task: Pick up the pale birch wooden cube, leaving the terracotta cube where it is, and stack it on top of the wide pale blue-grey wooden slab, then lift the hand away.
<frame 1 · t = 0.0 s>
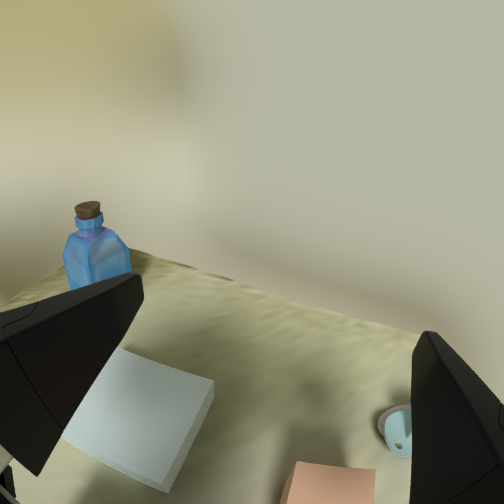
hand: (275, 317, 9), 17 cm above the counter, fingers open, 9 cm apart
perfume bottle: (103, 295, 36), on the counter
blue-grey slab: (138, 423, 21), on the counter
pacifier: (408, 434, 20), on the counter
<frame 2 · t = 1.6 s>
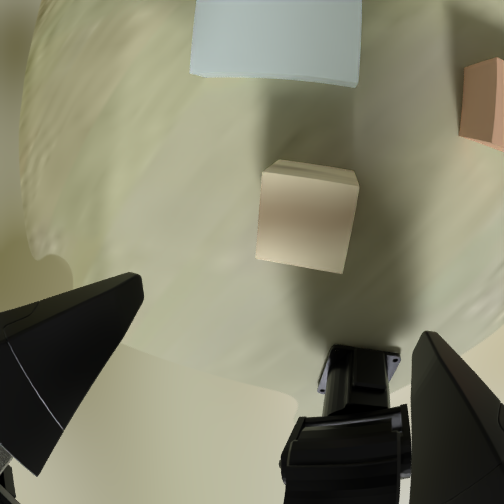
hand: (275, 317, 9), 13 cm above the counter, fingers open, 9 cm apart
birch cube: (311, 200, 20), on the counter
terracotta cube: (490, 112, 14), on the counter
blue-grey slab: (283, 14, 15), on the counter
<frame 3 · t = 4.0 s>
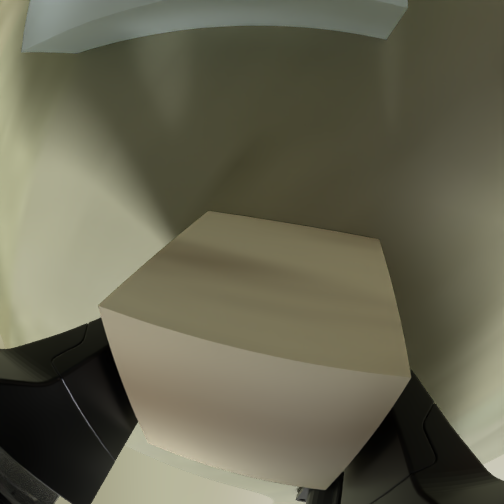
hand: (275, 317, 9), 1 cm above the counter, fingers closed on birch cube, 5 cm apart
birch cube: (282, 297, 10), on the counter, touching gripper
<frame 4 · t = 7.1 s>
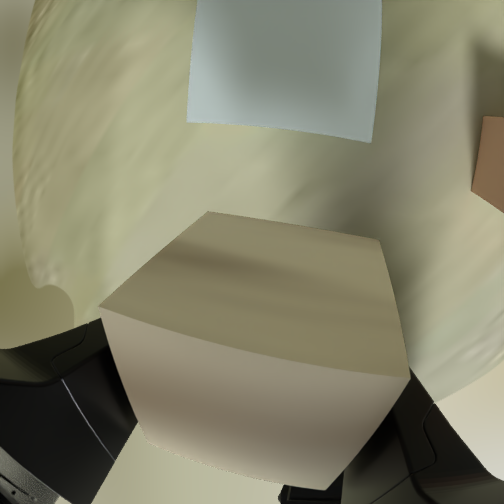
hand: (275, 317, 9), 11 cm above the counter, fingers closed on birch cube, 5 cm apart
birch cube: (281, 297, 10), point 10 cm above the counter, touching gripper
blue-grey slab: (290, 50, 15), on the counter
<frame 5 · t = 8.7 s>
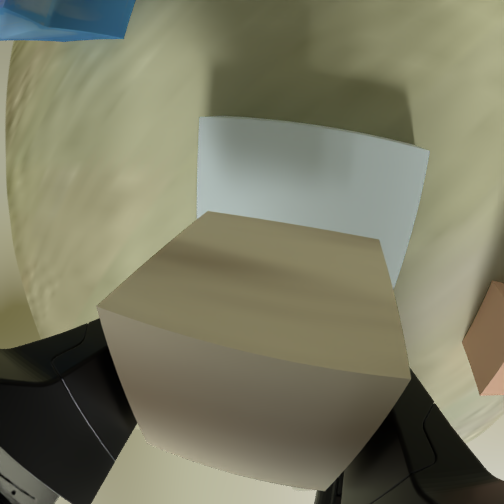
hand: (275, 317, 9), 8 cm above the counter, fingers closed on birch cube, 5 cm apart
birch cube: (281, 297, 9), point 7 cm above the counter, touching gripper
perfume bottle: (104, 0, 12), on the counter
terracotta cube: (502, 316, 15), on the counter
blue-grey slab: (305, 216, 16), on the counter
when the fingers open (5 cm above the counter, at t = 10.2 s): birch cube drops 2 cm, resting on blue-grey slab.
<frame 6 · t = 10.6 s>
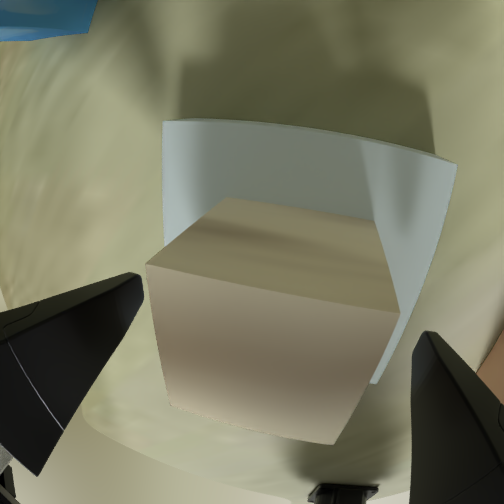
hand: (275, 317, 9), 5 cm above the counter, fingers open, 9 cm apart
birch cube: (290, 273, 11), point 2 cm above the counter, touching blue-grey slab
blue-grey slab: (298, 240, 13), on the counter, touching birch cube
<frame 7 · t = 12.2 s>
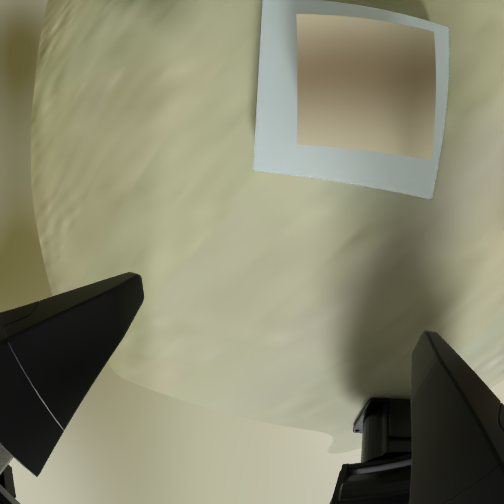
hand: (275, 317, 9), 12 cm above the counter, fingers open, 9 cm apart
birch cube: (356, 91, 13), point 2 cm above the counter, touching blue-grey slab
blue-grey slab: (351, 93, 15), on the counter, touching birch cube
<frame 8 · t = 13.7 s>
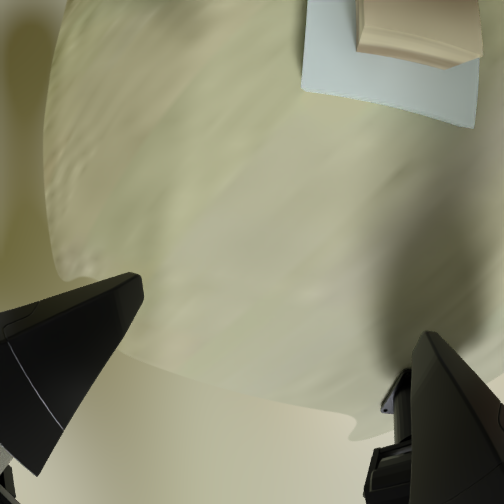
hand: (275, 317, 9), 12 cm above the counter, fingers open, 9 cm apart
birch cube: (401, 19, 11), point 2 cm above the counter
blue-grey slab: (390, 34, 13), on the counter
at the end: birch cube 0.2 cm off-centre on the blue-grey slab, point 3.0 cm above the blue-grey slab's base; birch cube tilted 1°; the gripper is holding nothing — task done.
